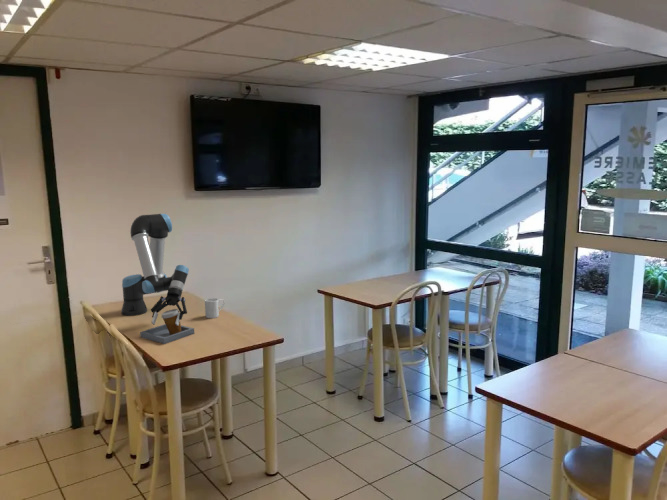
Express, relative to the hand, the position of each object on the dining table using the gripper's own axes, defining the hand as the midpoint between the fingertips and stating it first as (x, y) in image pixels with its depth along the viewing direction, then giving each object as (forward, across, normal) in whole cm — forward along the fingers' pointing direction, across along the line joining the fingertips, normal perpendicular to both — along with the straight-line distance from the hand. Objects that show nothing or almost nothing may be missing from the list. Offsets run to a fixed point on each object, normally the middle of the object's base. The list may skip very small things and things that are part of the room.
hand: (164, 324), depth 286 cm
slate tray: (+3, 0, -7) cm, 8 cm away
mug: (-24, -12, -34) cm, 43 cm away
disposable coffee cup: (+1, -4, -7) cm, 8 cm away
